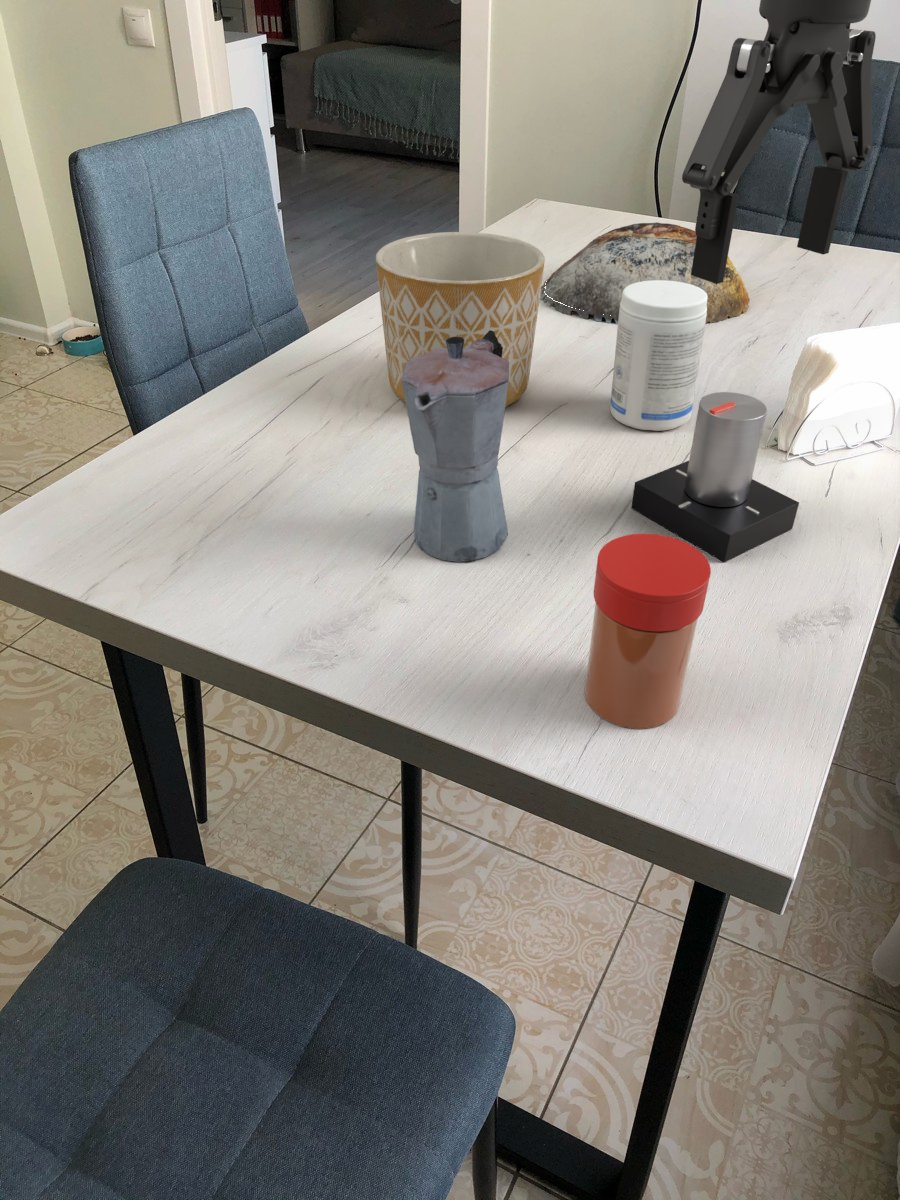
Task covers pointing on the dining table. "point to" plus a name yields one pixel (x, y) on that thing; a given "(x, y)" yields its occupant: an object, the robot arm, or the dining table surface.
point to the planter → (459, 298)
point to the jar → (636, 672)
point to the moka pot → (458, 447)
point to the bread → (638, 272)
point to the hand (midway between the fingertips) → (761, 264)
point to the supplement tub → (657, 354)
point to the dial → (724, 448)
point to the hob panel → (714, 514)
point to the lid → (651, 582)
